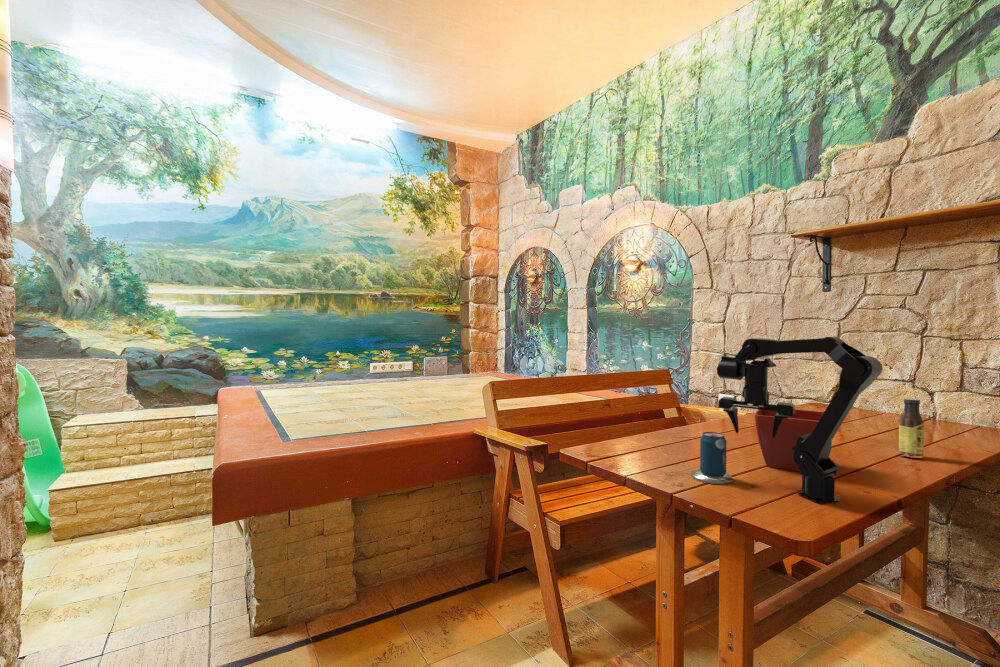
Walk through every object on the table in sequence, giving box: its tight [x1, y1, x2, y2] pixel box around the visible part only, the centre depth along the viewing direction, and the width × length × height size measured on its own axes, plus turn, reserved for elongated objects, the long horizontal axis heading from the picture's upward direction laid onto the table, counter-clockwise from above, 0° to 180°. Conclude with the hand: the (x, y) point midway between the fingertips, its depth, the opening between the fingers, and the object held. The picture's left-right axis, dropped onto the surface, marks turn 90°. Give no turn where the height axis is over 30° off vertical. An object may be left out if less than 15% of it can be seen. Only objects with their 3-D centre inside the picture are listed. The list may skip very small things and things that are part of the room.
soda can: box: [699, 431, 727, 478], centre depth 131 cm, size 7×7×12 cm
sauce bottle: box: [898, 398, 925, 456], centre depth 152 cm, size 7×6×20 cm
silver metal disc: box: [690, 468, 734, 486], centre depth 131 cm, size 11×11×1 cm
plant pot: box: [754, 408, 825, 472], centre depth 143 cm, size 19×19×17 cm
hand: (755, 435), depth 129 cm, fingers open, 9 cm apart
